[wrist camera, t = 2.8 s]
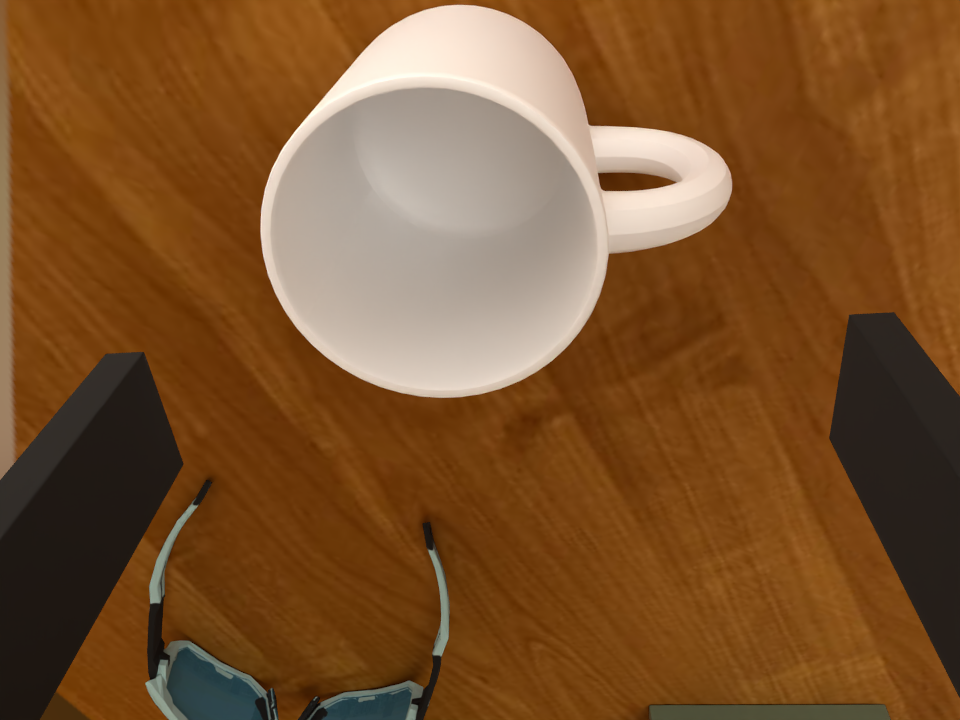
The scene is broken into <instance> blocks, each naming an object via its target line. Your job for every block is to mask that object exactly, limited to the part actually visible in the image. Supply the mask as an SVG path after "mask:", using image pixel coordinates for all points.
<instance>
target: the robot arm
mask: <svg viewBox="0 0 960 720" xmlns="http://www.w3.org/2000/svg"><path fill="white" fill-rule="evenodd" d="M829 439H830V441H831V443H832V445H833V447H834V449H835V451H836V453H837V455H838V457H839V459H840V461H841V463H842V465H843V467H844V469H845V471H846V473H847V475H848V477H849V479H850V481H851V483H852V485H853V487H854V489H855V491H856V493H857V495H858V497H859V499H860V501H861V503H862V505H863V507H864V509H865V511H866V513H867V515H868V516H869V518H870V520H871V522H872V524H873V526H874V528H875V530H876V532H877V534H878V536H879V538H880V540H881V542H882V544H883V546H884V548H885V550H886V552H887V554H888V556H889V558H890V560H891V562H892V564H893V566H894V568H895V570H896V572H897V574H898V576H899V578H900V580H901V582H902V584H903V586H904V588H905V590H906V592H907V594H908V596H909V598H910V600H911V602H912V604H913V606H914V608H915V610H916V612H917V614H918V616H919V618H920V620H921V622H922V624H923V626H924V628H925V630H926V632H927V634H928V636H929V638H930V640H931V642H932V644H933V646H934V648H935V650H936V652H937V654H938V656H939V658H940V660H941V662H942V664H943V666H944V668H945V670H946V672H947V674H948V676H949V678H950V680H951V682H952V684H953V686H954V688H955V690H956V692H957V694H958V696H959V698H960V397H959V395H958V394H957V393H956V391H955V390H954V389H953V388H952V386H951V385H950V384H949V382H948V381H947V380H946V379H945V377H944V376H943V375H942V373H941V372H940V371H939V370H938V368H937V367H936V366H935V364H934V363H933V362H932V361H931V359H930V358H929V357H928V355H927V354H926V353H925V352H924V350H923V349H922V348H921V346H920V345H919V344H918V343H917V341H916V340H915V339H914V337H913V336H912V335H911V334H910V332H909V331H908V330H907V328H906V327H905V326H904V325H903V323H902V322H901V321H900V319H899V318H898V317H897V316H896V314H895V313H894V312H892V313H873V314H854V315H849V320H848V326H847V332H846V338H845V344H844V351H843V357H842V363H841V369H840V375H839V381H838V388H837V394H836V400H835V406H834V412H833V419H832V425H831V431H830V437H829ZM182 466H183V461H182V458H181V455H180V453H179V450H178V447H177V444H176V441H175V438H174V436H173V433H172V430H171V427H170V424H169V422H168V419H167V416H166V413H165V410H164V407H163V405H162V402H161V399H160V396H159V393H158V390H157V388H156V385H155V382H154V379H153V376H152V374H151V371H150V368H149V365H148V362H147V359H146V357H145V354H144V352H134V353H115V354H106V355H105V356H104V357H103V358H102V359H101V361H100V362H99V363H98V364H97V365H96V366H95V368H94V369H93V370H92V371H91V372H90V374H89V375H88V376H87V377H86V378H85V380H84V381H83V382H82V383H81V384H80V386H79V387H78V388H77V389H76V390H75V392H74V393H73V394H72V395H71V396H70V398H69V399H68V400H67V401H66V402H65V404H64V405H63V406H62V407H61V408H60V409H59V411H58V412H57V413H56V414H55V415H54V417H53V418H52V419H51V420H50V421H49V423H48V424H47V425H46V426H45V427H44V429H43V430H42V431H41V432H40V433H39V435H38V436H37V437H36V438H35V439H34V441H33V442H32V443H31V444H30V445H29V447H28V448H27V449H26V450H25V451H24V452H23V454H22V455H21V456H20V457H19V458H18V460H17V461H16V462H15V463H14V464H13V466H12V467H11V468H10V469H9V470H8V472H7V473H6V474H5V475H4V476H3V478H2V479H1V480H0V720H40V718H41V716H42V715H43V713H44V711H45V709H46V707H47V706H48V704H49V702H50V700H51V698H52V697H53V695H54V693H55V692H56V690H57V688H58V686H59V684H60V683H61V681H62V679H63V677H64V676H65V674H66V672H67V670H68V668H69V667H70V665H71V663H72V661H73V660H74V658H75V656H76V654H77V652H78V651H79V649H80V647H81V645H82V644H83V642H84V640H85V638H86V636H87V635H88V633H89V631H90V629H91V628H92V626H93V624H94V622H95V620H96V619H97V617H98V615H99V613H100V612H101V610H102V608H103V606H104V604H105V603H106V601H107V599H108V597H109V596H110V594H111V592H112V590H113V588H114V587H115V585H116V583H117V581H118V580H119V578H120V576H121V574H122V572H123V571H124V569H125V567H126V565H127V564H128V562H129V560H130V558H131V557H132V555H133V553H134V551H135V549H136V548H137V546H138V544H139V542H140V541H141V539H142V537H143V535H144V533H145V532H146V530H147V528H148V526H149V525H150V523H151V521H152V519H153V517H154V516H155V514H156V512H157V510H158V509H159V507H160V505H161V503H162V501H163V500H164V498H165V496H166V494H167V493H168V491H169V489H170V487H171V485H172V484H173V482H174V480H175V478H176V477H177V475H178V473H179V471H180V469H181V468H182Z"/></svg>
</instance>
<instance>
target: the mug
mask: <svg viewBox="0 0 960 720" xmlns="http://www.w3.org/2000/svg"><path fill="white" fill-rule="evenodd" d="M611 172H625V173H642V174H650V175H656V176H660V177H664V178H667V179H670V180H673V181H675V182H677V183H675V184H672V185H669V186H665V187H661V188H655V189H648V190H638V191H604V190H602V189H601V187H600V183H599V177H598V173H611ZM731 192H732V179H731V173H730V171H729V169H728V166H727V165H726V163H725V162H724V160H723V159H722V158H721V156H720V155H719V154H718V153H717V152H715V151H714V150H712V149H711V148H709V147H708V146H706V145H705V144H703V143H701V142H699V141H697V140H695V139H692V138H689V137H686V136H684V135H680V134H676V133H672V132H668V131H662V130H656V129H647V128H636V127H617V126H590V125H589V124H588V120H587V116H586V110H585V107H584V103H583V100H582V97H581V93H580V91H579V88H578V86H577V83H576V81H575V79H574V76H573V74H572V72H571V70H570V69H569V67H568V66H567V64H566V62H565V61H564V59H563V57H562V56H561V55H560V54H559V53H558V51H557V50H556V49H555V48H554V47H553V45H552V44H551V43H550V42H549V41H547V40H546V39H545V38H544V37H543V36H542V35H541V34H540V33H539V32H537V31H536V30H534V29H533V28H532V27H530V26H529V25H527V24H526V23H524V22H522V21H520V20H518V19H516V18H515V17H513V16H511V15H508V14H505V13H503V12H500V11H497V10H494V9H490V8H485V7H480V6H472V5H450V6H440V7H436V8H432V9H427V10H424V11H421V12H418V13H416V14H413V15H411V16H408V17H406V18H405V19H403V20H401V21H399V22H397V23H396V24H394V25H392V26H391V27H390V28H388V29H387V30H386V31H384V32H383V33H382V34H380V35H379V36H378V37H377V38H376V39H375V40H374V41H373V42H372V43H371V44H370V45H369V46H368V47H367V48H366V49H365V50H364V51H363V52H362V53H361V54H360V56H359V57H358V58H357V59H356V60H355V62H354V63H353V64H352V65H351V66H350V67H349V69H348V70H347V71H346V72H345V73H344V74H343V76H342V77H341V78H340V79H339V80H338V81H337V83H336V84H335V85H334V86H333V87H332V88H331V90H330V91H329V92H328V93H327V94H326V96H325V97H324V98H323V99H322V100H321V101H320V103H319V104H318V105H317V106H316V107H315V108H314V110H313V111H312V112H311V113H310V114H309V115H308V117H307V118H306V119H305V120H304V121H303V123H302V124H301V125H300V126H299V127H298V128H297V130H296V131H295V132H294V133H293V135H292V136H291V138H290V139H289V140H288V142H287V143H286V144H285V146H284V147H283V149H282V150H281V152H280V154H279V156H278V158H277V160H276V162H275V164H274V166H273V168H272V170H271V173H270V176H269V179H268V182H267V185H266V188H265V192H264V198H263V203H262V209H261V229H260V232H261V242H262V252H263V256H264V260H265V264H266V268H267V273H268V276H269V278H270V281H271V283H272V286H273V289H274V291H275V294H276V295H277V297H278V299H279V301H280V303H281V305H282V307H283V308H284V310H285V312H286V313H287V315H288V316H289V318H290V319H291V321H292V322H293V323H294V325H295V326H296V328H297V329H298V330H299V331H300V332H301V333H302V334H303V335H304V337H305V338H306V339H307V340H308V341H309V342H310V343H311V344H312V345H313V346H314V347H315V348H316V349H318V350H319V351H320V352H321V353H322V354H323V355H324V356H326V357H327V358H328V359H330V360H331V361H332V362H334V363H335V364H337V365H338V366H340V367H341V368H342V369H344V370H346V371H348V372H349V373H351V374H353V375H355V376H357V377H359V378H360V379H362V380H365V381H367V382H370V383H372V384H375V385H377V386H379V387H382V388H386V389H389V390H393V391H396V392H400V393H404V394H410V395H416V396H422V397H436V398H449V397H464V396H471V395H478V394H483V393H487V392H490V391H494V390H498V389H501V388H504V387H506V386H509V385H511V384H514V383H516V382H519V381H521V380H523V379H524V378H526V377H528V376H530V375H532V374H534V373H535V372H537V371H538V370H540V369H541V368H543V367H544V366H545V365H547V364H548V363H550V362H551V361H552V360H554V359H555V358H556V357H557V356H558V355H559V354H560V353H561V352H562V351H563V350H564V349H565V348H566V347H568V345H569V344H570V343H571V342H572V341H573V339H574V338H575V337H576V336H577V334H578V333H579V332H580V331H581V330H582V328H583V326H584V325H585V323H586V322H587V320H588V318H589V317H590V315H591V313H592V311H593V309H594V307H595V305H596V302H597V300H598V298H599V296H600V293H601V289H602V286H603V282H604V279H605V275H606V270H607V262H608V255H609V254H611V253H623V252H631V251H638V250H644V249H649V248H654V247H658V246H662V245H666V244H669V243H672V242H675V241H678V240H681V239H684V238H686V237H688V236H690V235H693V234H695V233H697V232H699V231H701V230H703V229H704V228H705V227H707V226H708V225H710V224H711V223H712V222H713V221H714V220H715V219H716V218H717V217H718V216H719V215H720V214H721V212H722V211H723V210H724V209H725V207H726V205H727V203H728V201H729V198H730V195H731Z"/></svg>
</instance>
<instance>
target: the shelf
mask: <svg viewBox="0 0 960 720" xmlns="http://www.w3.org/2000/svg"><path fill="white" fill-rule="evenodd" d="M649 720H891V719H890V716H889V714H888V711H887V709H886V707H885V705H650V706H649Z"/></svg>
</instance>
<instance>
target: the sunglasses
mask: <svg viewBox="0 0 960 720" xmlns="http://www.w3.org/2000/svg"><path fill="white" fill-rule="evenodd" d="M211 484H212V482H211V481H209V480H206V482H205V483H204V485H203V487H202V489H201V490H200V492H199V494H198V496H197V497H196V498H195V500H194V501H193V502H192V504H191V505H190V506H189V508H188V509H187V510H186V511H185V512H184V514H183V515H182V516H181V517H180V518H179V519H178V521H177V523H176V524H175V526H174V527H173V529H172V531H171V532H170V534H169V536H168V537H167V540H166V541H165V543H164V545H163V547H162V549H161V552H160V554H159V556H158V558H157V561H156V564H155V568H154V572H153V575H152V579H151V582H150V586H149V590H150V611H149V626H148V648H147V654H148V673H149V677H150V680H149V681H148V682H146V683H145V684H146V686H147V689H148V692H149V694H150V696H151V697H152V699H153V701H154V703H155V704H156V705H157V706H158V708H159V709H160V710H161V711H162V712H163V714H164V715H165V716H166V717H167V718H168V719H169V720H279V719H278V711H277V700H276V695H275V692H274V689H273V688H271V689H269V690H268V693H267V692H266V691H265V690H264V689H263V688H262V687H261V686H260V685H259V684H258V683H257V682H256V681H255V680H254V679H253V678H252V677H251V676H250V675H247V674H245V673H242V672H240V671H238V670H236V669H234V668H232V667H230V666H228V665H226V664H224V663H221V662H220V661H218V660H217V659H215V658H214V657H212V656H211V655H209V654H208V653H206V652H205V651H204V650H202V649H201V648H199V647H198V646H196V645H195V644H193V643H192V642H190V641H173V642H170V644H169V645H168V647H167V648H166V649H164V644H165V643H164V641H163V640H162V638H161V635H162V618H163V601H164V597H165V582H164V571H165V568H166V564H167V560H168V557H169V554H170V552H171V549H172V546H173V545H174V542H175V539H176V537H177V535H178V533H179V531H180V530H181V528H182V526H183V525H184V524H185V522H186V521H187V519H188V518H189V517H190V515H191V514H192V513H193V512H194V510H195V509H196V508H197V507H198V505H199V504H200V503H201V502H202V500H203V499H204V497H205V495H206V493H207V491H208V489H209V487H210V486H211ZM423 529H424V535H425V541H426V547H427V549H428V552H429V554H430V557H431V559H432V562H433V564H434V568H435V570H436V575H437V579H438V584H439V590H440V601H441V626H440V629H439V631H438V635H437V638H436V640H435V643H434V647H433V654H432V657H433V669H432V673H431V678H430V682H429V685H428V686H427V687H426V688H425V689H424V690H423V687H422V686H420V685H418V684H416V683H414V682H412V681H406V682H404V683H401V684H397V685H393V686H389V687H385V688H381V689H375V690H365V691H355V692H344V693H342V694H339V695H337V696H335V697H332V698H330V699H327V700H325V701H323V702H320V703H318V701H319V700H320V698H319V697H318V696H315V697H314V698H313V699H312V701H311V702H310V703H309V704H308V706H307V707H306V708H305V710H304V711H303V713H302V714H301V716H300V717H299V719H298V720H423V719H424V716H425V713H426V711H427V708H428V705H429V702H430V699H431V696H432V693H433V690H434V687H435V684H436V682H437V679H438V675H439V671H440V666H441V657H442V654H443V651H444V649H445V646H446V643H447V641H448V638H449V611H450V604H449V597H448V590H447V583H446V576H445V572H444V569H443V566H442V563H441V560H440V557H439V554H438V551H437V548H436V545H435V542H434V539H433V535H432V530H431V525H430V522H427V523H423ZM317 703H318V704H317Z"/></svg>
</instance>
